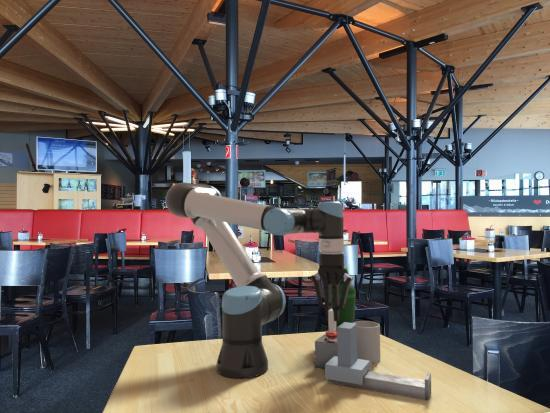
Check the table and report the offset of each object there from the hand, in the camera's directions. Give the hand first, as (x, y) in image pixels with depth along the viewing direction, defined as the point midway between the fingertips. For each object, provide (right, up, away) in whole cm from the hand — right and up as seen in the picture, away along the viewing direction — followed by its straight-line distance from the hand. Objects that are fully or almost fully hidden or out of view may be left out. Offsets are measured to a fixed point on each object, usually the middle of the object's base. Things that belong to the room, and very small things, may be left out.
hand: (332, 331), depth 129 cm
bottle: (+6, -11, +23) cm, 26 cm away
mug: (+12, -11, +7) cm, 17 cm away
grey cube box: (0, -10, 0) cm, 10 cm away
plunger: (0, -9, 0) cm, 9 cm away
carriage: (+2, -9, -13) cm, 15 cm away
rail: (+10, -10, -16) cm, 21 cm away
